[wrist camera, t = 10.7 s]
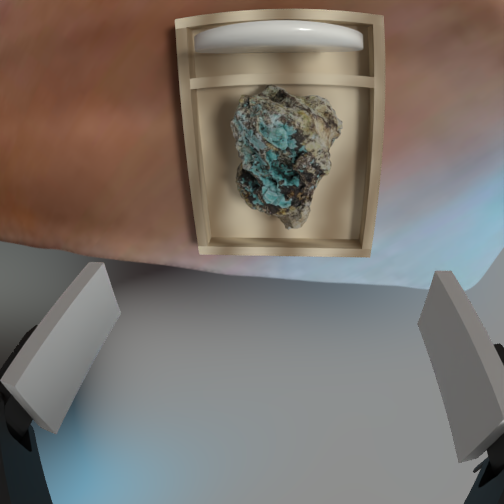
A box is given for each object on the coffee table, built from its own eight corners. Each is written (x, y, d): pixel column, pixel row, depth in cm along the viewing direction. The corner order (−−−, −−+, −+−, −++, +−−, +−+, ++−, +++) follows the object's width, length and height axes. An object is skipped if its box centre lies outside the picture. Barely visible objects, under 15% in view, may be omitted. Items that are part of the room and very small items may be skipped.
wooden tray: (205, 240, 37) (199, 254, 34) (185, 23, 25) (175, 19, 22) (364, 243, 35) (369, 257, 32) (375, 20, 22) (383, 15, 20)
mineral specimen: (243, 78, 26) (215, 117, 21) (347, 90, 24) (350, 134, 19) (245, 181, 35) (225, 234, 30) (328, 194, 34) (323, 251, 29)
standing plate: (215, 56, 25) (169, 46, 15) (214, 46, 25) (168, 31, 15) (347, 54, 24) (383, 42, 14) (347, 44, 23) (382, 26, 13)
